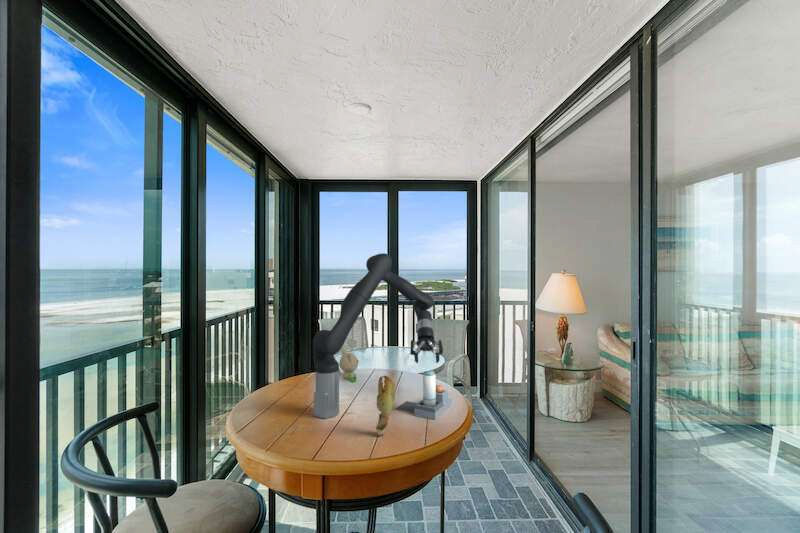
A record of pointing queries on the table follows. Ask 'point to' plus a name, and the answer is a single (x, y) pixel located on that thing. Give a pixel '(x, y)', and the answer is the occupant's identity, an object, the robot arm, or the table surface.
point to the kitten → (348, 365)
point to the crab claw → (384, 403)
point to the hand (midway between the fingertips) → (427, 362)
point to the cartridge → (429, 389)
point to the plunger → (439, 389)
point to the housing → (435, 412)
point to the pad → (407, 406)
